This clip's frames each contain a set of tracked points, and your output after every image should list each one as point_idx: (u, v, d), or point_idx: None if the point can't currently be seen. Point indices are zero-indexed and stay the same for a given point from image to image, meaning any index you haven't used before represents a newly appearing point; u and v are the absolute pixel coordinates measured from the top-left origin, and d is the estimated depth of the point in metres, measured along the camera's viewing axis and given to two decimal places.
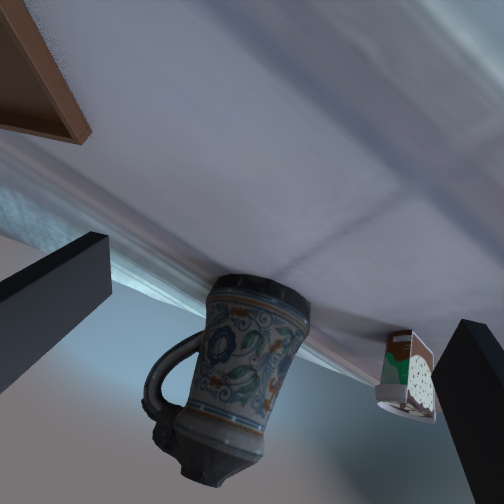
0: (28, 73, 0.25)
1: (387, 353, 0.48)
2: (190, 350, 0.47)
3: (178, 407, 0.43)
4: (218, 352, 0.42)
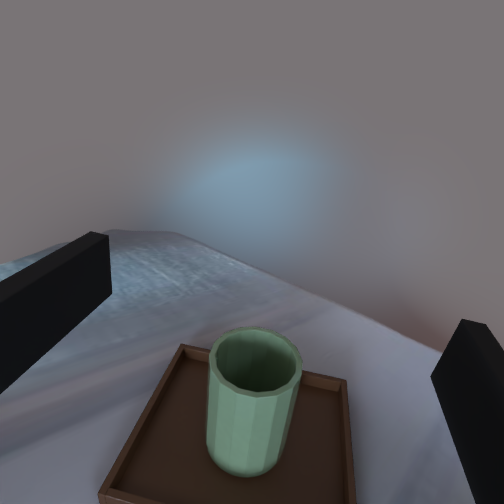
0: (178, 481, 0.27)
1: None
2: None
3: None
4: None
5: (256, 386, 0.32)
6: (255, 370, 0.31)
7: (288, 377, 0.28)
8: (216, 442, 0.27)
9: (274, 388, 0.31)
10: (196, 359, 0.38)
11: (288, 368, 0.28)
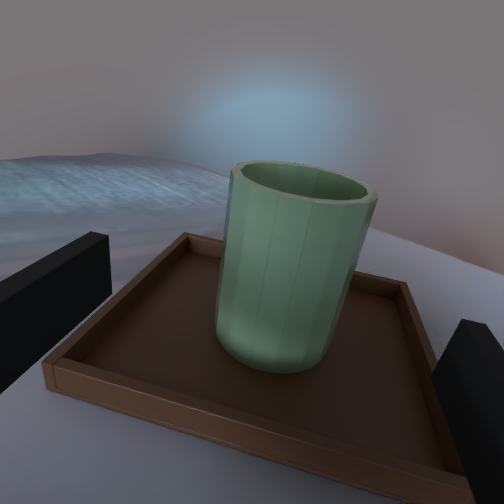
0: (172, 369, 0.17)
1: None
2: None
3: None
4: None
5: None
6: None
7: None
8: (234, 312, 0.17)
9: None
10: (203, 253, 0.29)
11: None
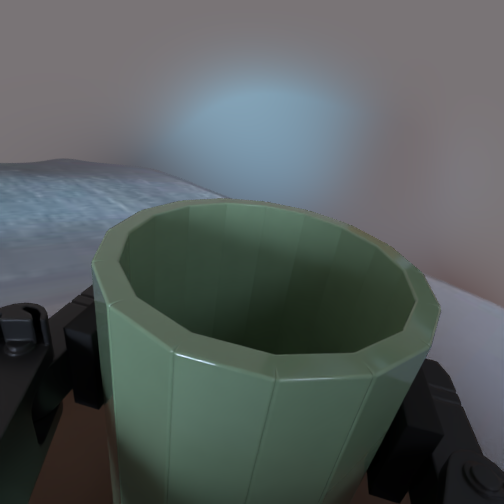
0: None
1: None
2: None
3: None
4: None
5: None
6: (258, 326, 0.13)
7: (355, 337, 0.10)
8: None
9: None
10: None
11: (357, 311, 0.10)
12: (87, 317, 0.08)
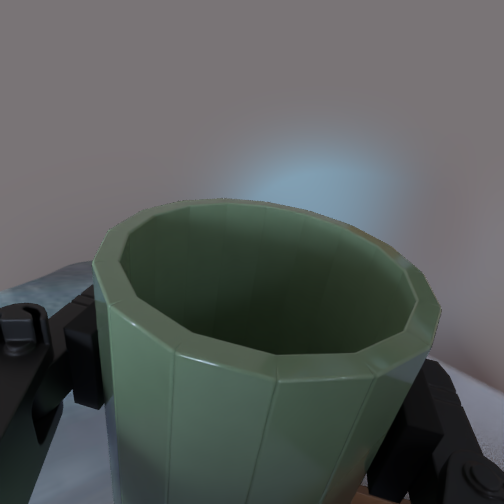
0: None
1: None
2: None
3: None
4: None
5: None
6: (259, 326, 0.13)
7: (356, 337, 0.10)
8: None
9: None
10: None
11: (357, 311, 0.10)
12: (87, 317, 0.08)
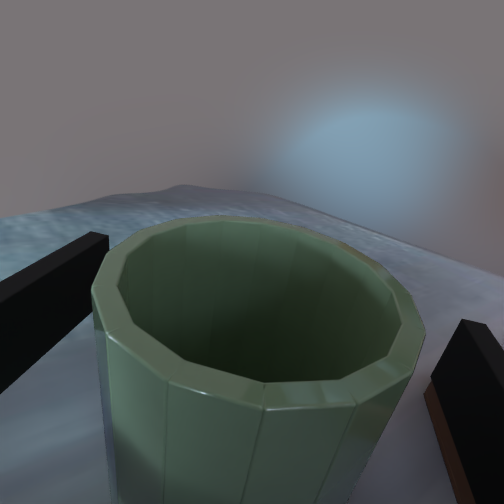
0: None
1: None
2: None
3: None
4: None
5: (254, 377, 0.14)
6: (254, 338, 0.13)
7: (347, 352, 0.10)
8: None
9: None
10: None
11: (349, 326, 0.10)
12: None
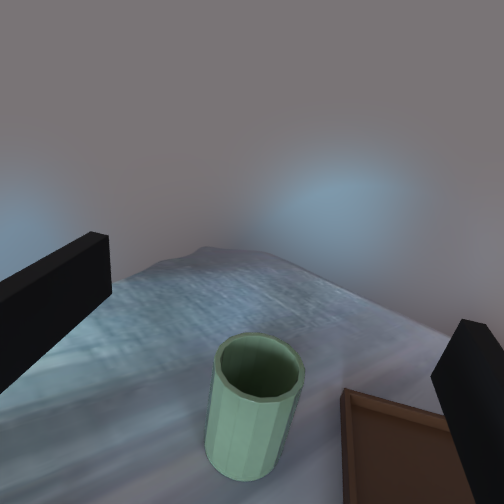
0: None
1: None
2: None
3: None
4: None
5: (256, 391, 0.33)
6: (256, 375, 0.32)
7: (289, 384, 0.29)
8: (215, 444, 0.27)
9: (274, 394, 0.31)
10: (360, 405, 0.36)
11: (290, 375, 0.29)
12: None
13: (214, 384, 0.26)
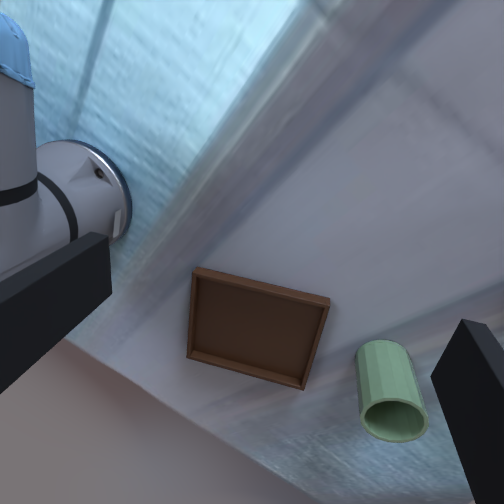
0: (289, 307, 0.46)
1: None
2: None
3: None
4: None
5: None
6: (380, 405, 0.44)
7: None
8: (408, 363, 0.43)
9: None
10: (291, 377, 0.51)
11: None
12: None
13: None
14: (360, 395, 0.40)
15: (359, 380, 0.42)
